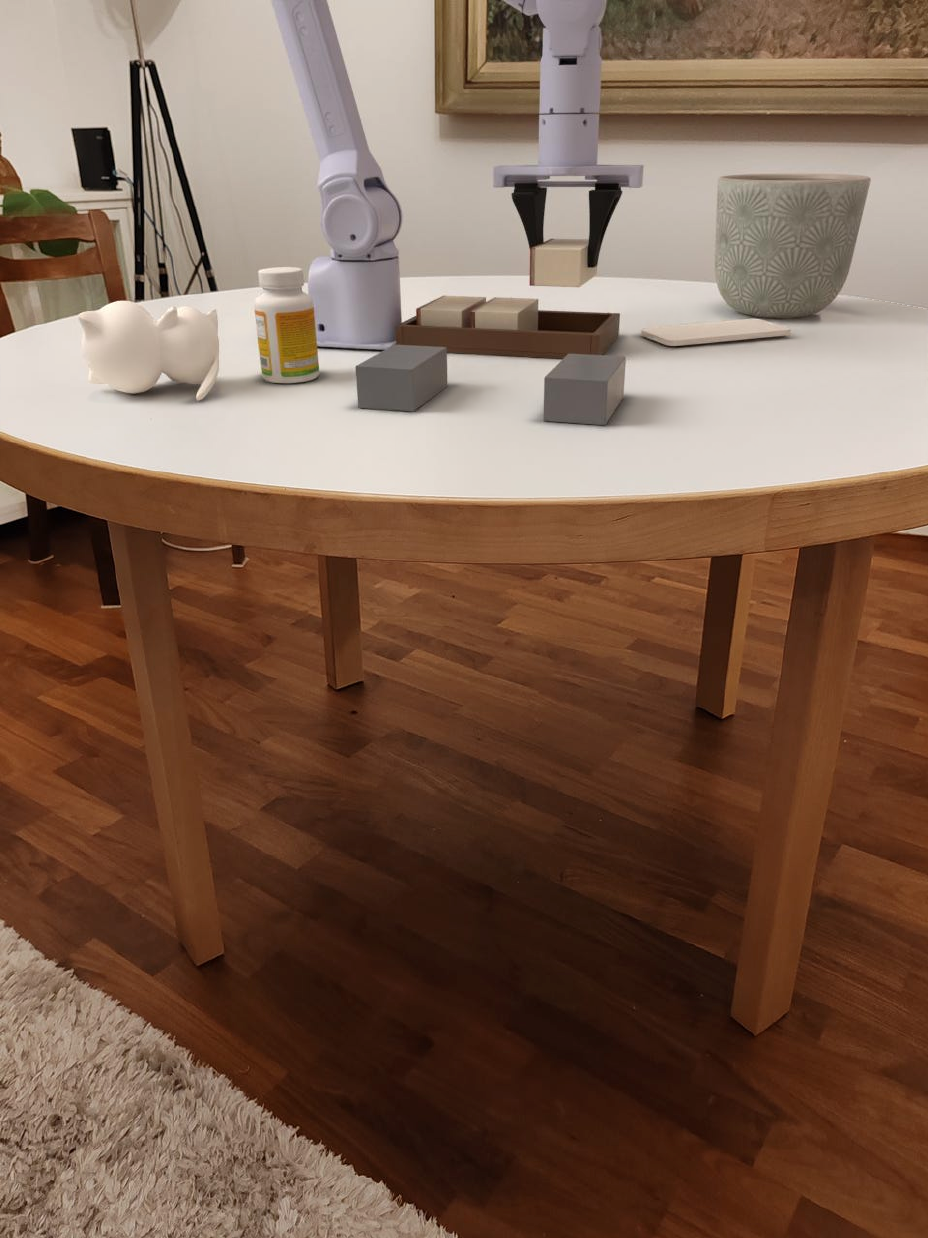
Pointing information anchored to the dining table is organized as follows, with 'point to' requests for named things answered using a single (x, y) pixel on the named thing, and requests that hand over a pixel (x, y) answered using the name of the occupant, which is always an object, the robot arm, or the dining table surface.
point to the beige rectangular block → (560, 263)
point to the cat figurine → (150, 347)
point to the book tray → (522, 336)
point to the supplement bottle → (286, 327)
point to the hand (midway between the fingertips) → (564, 265)
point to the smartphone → (714, 332)
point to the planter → (786, 240)
